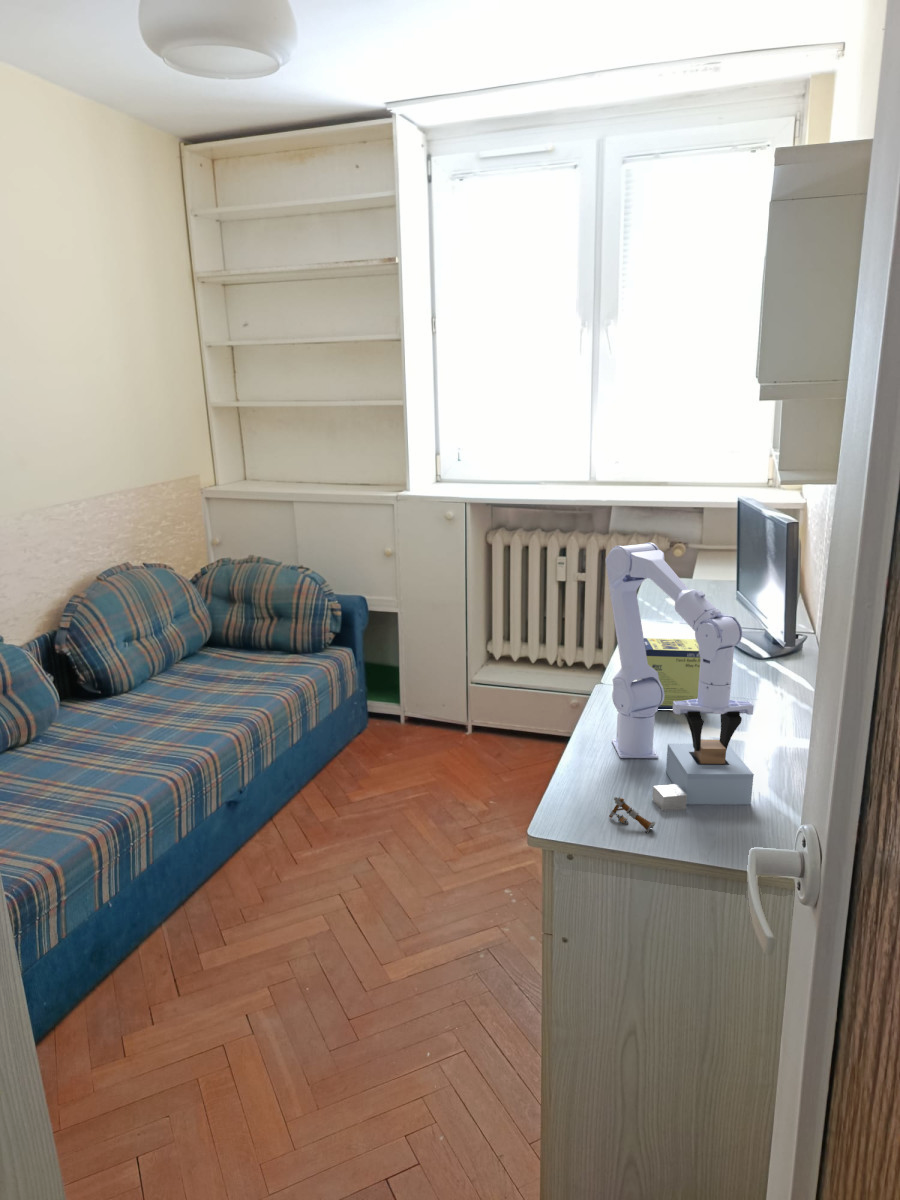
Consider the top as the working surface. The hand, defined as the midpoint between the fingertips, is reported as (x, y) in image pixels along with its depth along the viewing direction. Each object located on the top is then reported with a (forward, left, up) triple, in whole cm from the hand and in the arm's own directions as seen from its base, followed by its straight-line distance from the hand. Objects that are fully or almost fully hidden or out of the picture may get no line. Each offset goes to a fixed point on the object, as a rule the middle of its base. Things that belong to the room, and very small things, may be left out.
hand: (709, 748), depth 155 cm
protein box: (-46, +5, -8) cm, 47 cm away
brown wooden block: (0, 0, -2) cm, 2 cm away
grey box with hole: (0, 0, -8) cm, 8 cm away
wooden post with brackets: (+15, -18, -8) cm, 25 cm away
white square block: (+7, -9, -8) cm, 14 cm away
